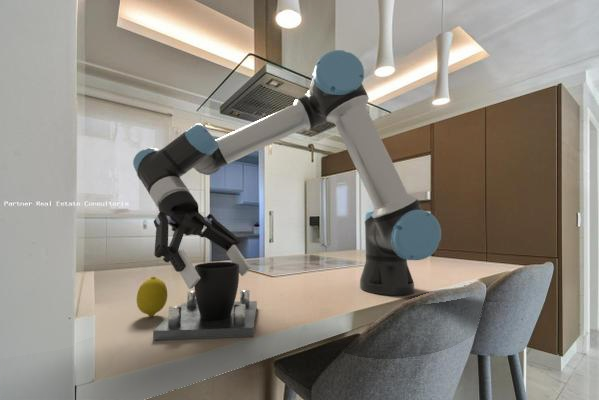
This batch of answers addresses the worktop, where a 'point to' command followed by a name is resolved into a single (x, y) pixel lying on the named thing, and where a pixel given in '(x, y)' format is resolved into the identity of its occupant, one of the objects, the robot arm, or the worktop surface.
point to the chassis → (191, 326)
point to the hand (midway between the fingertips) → (223, 277)
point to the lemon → (152, 296)
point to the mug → (216, 289)
